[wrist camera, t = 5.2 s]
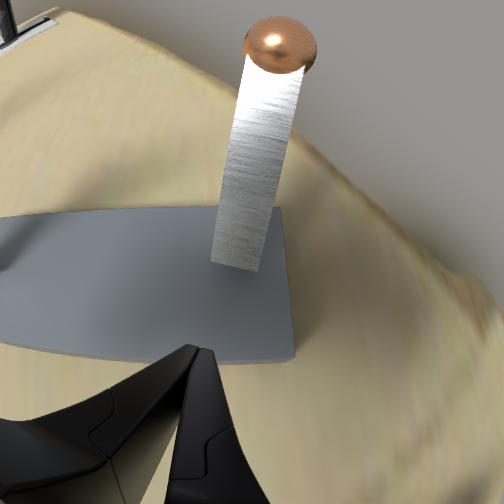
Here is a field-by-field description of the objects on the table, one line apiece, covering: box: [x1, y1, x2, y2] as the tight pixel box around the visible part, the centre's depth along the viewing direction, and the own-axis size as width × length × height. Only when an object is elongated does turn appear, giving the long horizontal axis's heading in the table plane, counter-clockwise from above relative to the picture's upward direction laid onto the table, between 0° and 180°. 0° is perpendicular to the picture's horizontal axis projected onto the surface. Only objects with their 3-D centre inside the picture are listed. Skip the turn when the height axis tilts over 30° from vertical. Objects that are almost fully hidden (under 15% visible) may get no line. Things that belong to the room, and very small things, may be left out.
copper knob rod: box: [210, 16, 317, 272], centre depth 13 cm, size 3×3×12 cm
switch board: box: [0, 207, 295, 365], centre depth 16 cm, size 9×23×2 cm, turn 93°
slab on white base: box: [0, 0, 58, 57], centre depth 32 cm, size 32×25×28 cm
